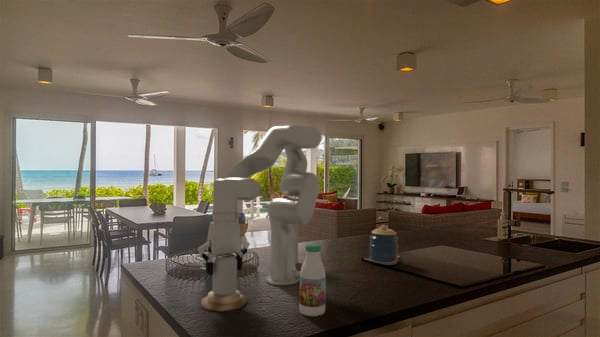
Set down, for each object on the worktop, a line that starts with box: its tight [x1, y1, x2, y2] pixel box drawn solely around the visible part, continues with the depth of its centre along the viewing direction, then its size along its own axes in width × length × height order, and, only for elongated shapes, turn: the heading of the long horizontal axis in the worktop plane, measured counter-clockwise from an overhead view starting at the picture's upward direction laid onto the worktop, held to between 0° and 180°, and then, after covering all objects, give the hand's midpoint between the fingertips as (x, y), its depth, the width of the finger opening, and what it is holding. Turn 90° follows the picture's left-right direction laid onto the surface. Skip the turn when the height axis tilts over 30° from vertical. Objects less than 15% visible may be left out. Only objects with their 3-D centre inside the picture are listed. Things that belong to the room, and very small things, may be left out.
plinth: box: [200, 289, 247, 312], centre depth 117 cm, size 14×14×3 cm
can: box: [211, 253, 238, 296], centre depth 117 cm, size 8×8×12 cm
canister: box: [369, 224, 399, 262], centre depth 170 cm, size 13×13×18 cm
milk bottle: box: [298, 243, 327, 317], centre depth 110 cm, size 8×8×20 cm
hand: (224, 271), depth 117 cm, fingers open, 9 cm apart
